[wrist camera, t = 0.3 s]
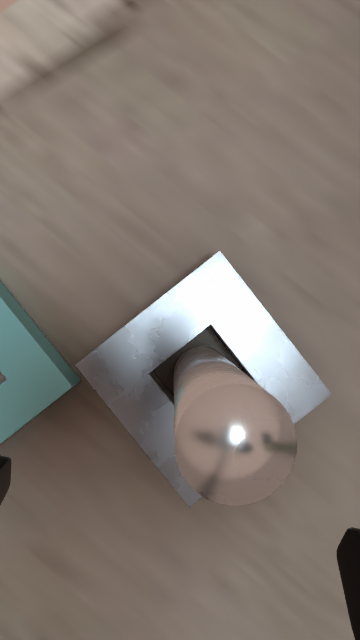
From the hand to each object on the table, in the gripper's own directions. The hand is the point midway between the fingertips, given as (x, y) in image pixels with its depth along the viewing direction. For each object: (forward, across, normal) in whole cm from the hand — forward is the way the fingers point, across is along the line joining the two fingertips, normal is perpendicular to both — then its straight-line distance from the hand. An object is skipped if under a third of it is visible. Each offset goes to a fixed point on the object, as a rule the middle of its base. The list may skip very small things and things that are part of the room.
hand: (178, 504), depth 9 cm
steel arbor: (+15, -2, +4) cm, 15 cm away
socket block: (+15, -2, +4) cm, 15 cm away
